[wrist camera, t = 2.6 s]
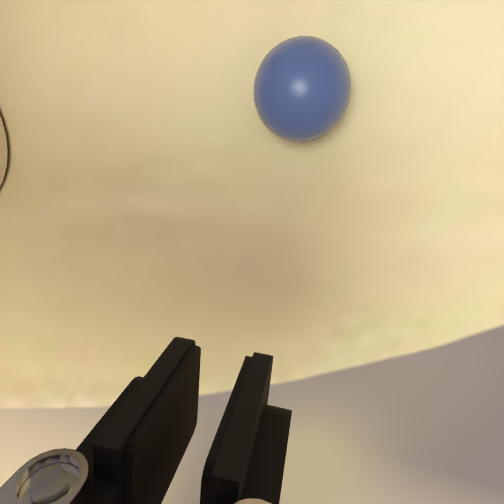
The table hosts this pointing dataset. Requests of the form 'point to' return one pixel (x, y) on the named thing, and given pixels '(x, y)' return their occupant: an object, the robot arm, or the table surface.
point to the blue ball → (302, 88)
